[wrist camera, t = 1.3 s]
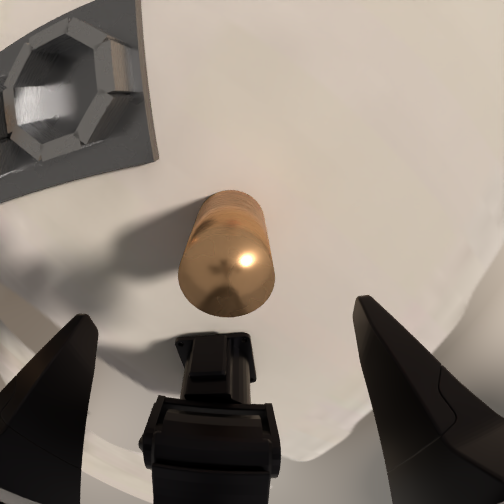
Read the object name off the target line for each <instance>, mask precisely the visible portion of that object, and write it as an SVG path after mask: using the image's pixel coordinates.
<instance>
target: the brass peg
mask: <svg viewBox="0 0 504 504" xmlns="http://www.w3.org/2000/svg"><path fill="white" fill-rule="evenodd" d="M178 280H179V285H180V288H181V290H182V292H183V294H184V295H185V297H186V298H187V300H188V301H189V302H190V303H191V304H192V305H194V306H195V307H196V308H198V309H199V310H201V311H203V312H205V313H208V314H210V315H214V316H219V317H237V316H242V315H245V314H248V313H250V312H252V311H254V310H256V309H257V308H259V307H260V306H261V305H263V304H264V303H265V301H266V300H267V299H268V298H269V296H270V294H271V292H272V290H273V287H274V282H275V273H274V267H273V262H272V256H271V251H270V245H269V240H268V235H267V229H266V224H265V219H264V214H263V211H262V209H261V207H260V205H259V204H258V203H257V201H256V200H255V199H253V198H252V197H251V196H249V195H248V194H246V193H243V192H240V191H235V190H226V191H221V192H218V193H216V194H214V195H212V196H211V197H209V198H208V199H207V200H206V201H205V202H204V203H203V205H202V206H201V208H200V210H199V213H198V216H197V218H196V221H195V224H194V226H193V229H192V232H191V235H190V237H189V240H188V243H187V246H186V248H185V251H184V254H183V257H182V260H181V263H180V266H179V271H178Z"/></svg>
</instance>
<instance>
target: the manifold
mask: <svg viewBox="0 0 504 504" xmlns="http://www.w3.org/2000/svg"><path fill="white" fill-rule="evenodd" d="M158 159H159V154H158V148H157V142H156V136H155V130H154V123H153V116H152V110H151V102H150V95H149V87H148V79H147V70H146V60H145V50H144V39H143V27H142V12H141V0H95V1H93V2H90V3H88V4H86V5H83V6H81V7H79V8H77V9H74V10H72V11H70V12H68V13H66V14H64V15H62V16H60V17H58V18H56V19H54V20H52V21H50V22H48V23H46V24H44V25H43V26H41V27H39V28H37V29H35V30H34V31H32V32H30V33H29V34H27V35H25V36H24V37H22V38H20V39H19V40H17V41H16V42H14V43H13V44H11V45H10V46H8V47H7V48H5V49H4V50H2V51H1V52H0V203H2V202H4V201H7V200H10V199H13V198H16V197H19V196H22V195H25V194H28V193H31V192H34V191H38V190H41V189H44V188H47V187H51V186H54V185H58V184H61V183H65V182H69V181H72V180H76V179H80V178H84V177H88V176H92V175H96V174H100V173H104V172H108V171H113V170H117V169H122V168H126V167H131V166H136V165H141V164H146V163H151V162H155V161H156V160H158Z"/></svg>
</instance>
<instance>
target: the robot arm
mask: <svg viewBox="0 0 504 504" xmlns="http://www.w3.org/2000/svg"><path fill="white" fill-rule="evenodd" d="M353 323H354V329H355V334H356V340H357V346H358V352H359V358H360V363H361V367H362V371H363V374H364V378H365V382H366V385H367V389H368V393H369V396H370V400H371V404H372V408H373V412H374V416H375V420H376V424H377V428H378V433H379V436H380V441H381V445H382V450H383V455H384V459H385V464H386V469H387V472H388V473H387V475H388V480H389V485H390V491H391V496H392V502H393V504H504V418H503V417H501V416H500V415H498V414H497V413H496V412H494V411H493V410H492V409H491V408H489V407H488V406H487V405H486V404H485V403H484V402H482V401H481V400H480V399H479V398H478V397H476V396H475V395H474V394H473V393H472V392H471V391H469V390H468V389H467V388H466V387H465V386H464V385H462V384H461V383H460V382H459V381H458V380H457V379H456V378H455V377H454V376H453V375H452V374H451V373H450V372H449V371H448V370H447V369H446V368H445V367H444V366H441V363H440V362H439V361H438V360H437V359H436V358H435V357H434V356H433V355H432V354H431V353H430V352H429V351H428V350H427V349H426V348H425V347H424V346H423V345H422V344H421V343H420V342H419V341H418V340H417V339H416V338H415V337H414V336H413V335H411V334H410V333H409V332H408V331H407V330H406V329H405V328H404V327H403V326H402V325H401V324H400V323H399V322H398V321H397V320H396V319H395V318H394V317H393V316H392V315H390V314H389V313H388V312H387V311H386V310H385V309H384V308H383V307H382V306H381V305H380V304H379V303H378V302H377V301H375V300H374V299H373V298H372V297H371V296H369V295H364V296H358V297H357V298H356V301H355V306H354V311H353ZM244 338H246V339H244ZM97 342H98V329H97V327H96V326H95V324H94V323H93V321H92V320H91V318H90V317H89V315H87V314H77V315H76V316H75V317H74V318H72V319H71V320H70V321H69V322H68V323H67V324H66V325H65V326H64V327H63V328H62V329H61V330H60V331H59V332H58V333H57V334H56V335H55V336H54V337H53V338H52V339H51V340H50V341H49V342H48V343H47V344H46V345H45V346H44V347H43V348H42V349H41V350H40V351H39V352H38V353H37V354H36V355H35V356H34V357H33V358H32V359H31V360H30V361H29V362H28V363H27V364H26V365H25V366H24V367H23V368H22V370H21V371H20V372H19V373H18V374H17V376H15V377H14V378H13V379H12V380H11V381H10V382H9V383H8V385H7V386H6V387H5V388H4V389H3V390H2V391H1V392H0V504H80V486H81V485H80V484H81V466H82V454H83V443H84V434H85V426H86V418H87V411H88V404H89V399H90V392H91V387H92V381H93V375H94V369H95V359H96V350H97ZM180 342H181V343H180ZM175 345H176V348H177V350H178V353H179V355H180V358H181V361H182V363H183V366H184V368H185V371H184V377H183V383H182V389H181V395H180V399H176V398H168V397H166V396H161V395H159V396H158V398H157V401H156V403H154V406H153V408H152V411H151V414H150V417H149V419H148V422H147V425H146V427H145V430H144V433H143V435H142V437H141V438H140V440H139V448H140V449H141V450H142V452H143V456H144V463H145V466H146V468H147V469H151V470H152V483H153V496H154V499H153V504H268V498H269V489H270V479H271V478H276V477H278V475H279V470H280V463H281V446H280V439H279V434H278V429H277V425H276V420H275V416H274V411H273V406H272V403H265V404H251V398H250V383H252V382H255V381H256V371H255V365H254V358H253V351H252V344H251V338H250V335H249V334H247V333H238V334H226V335H212V336H195V337H179V338H177V339H176V342H175Z"/></svg>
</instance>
